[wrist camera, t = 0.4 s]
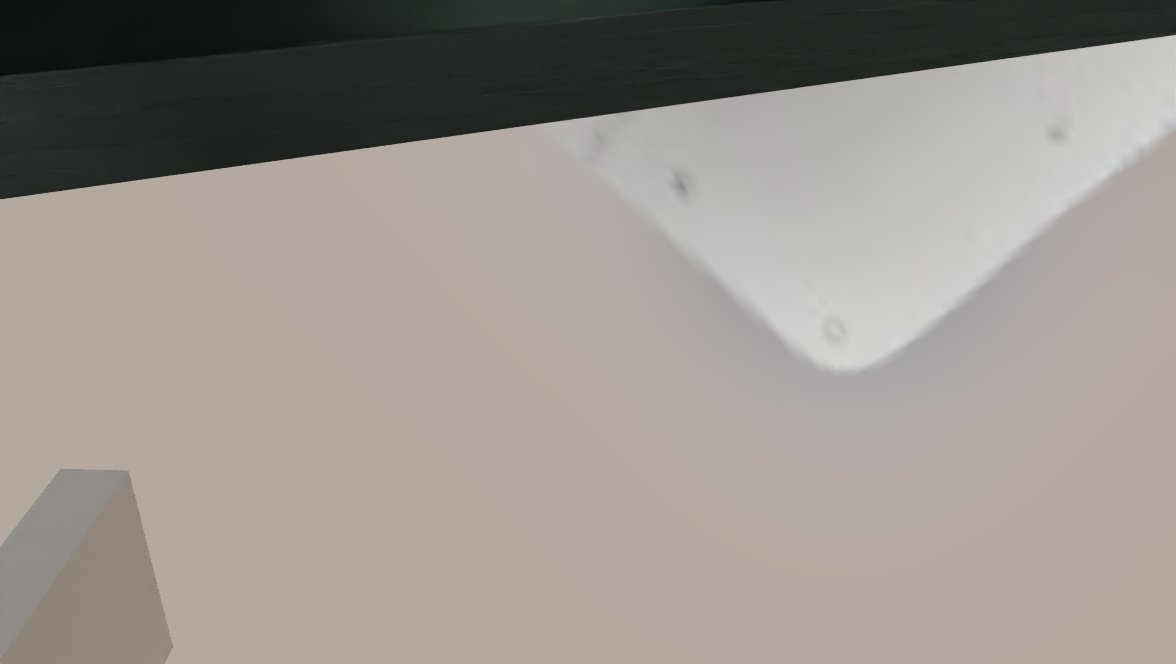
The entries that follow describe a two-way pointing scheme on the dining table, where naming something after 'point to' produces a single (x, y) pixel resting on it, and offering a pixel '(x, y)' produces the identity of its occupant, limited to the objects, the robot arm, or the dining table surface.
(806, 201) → the dining table surface
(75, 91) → the arbor press
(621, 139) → the dining table surface
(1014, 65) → the dining table surface
